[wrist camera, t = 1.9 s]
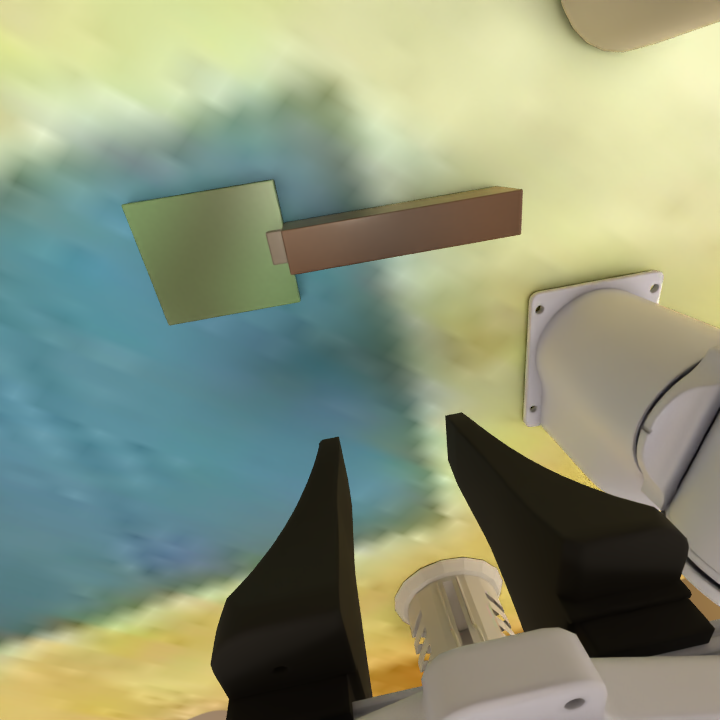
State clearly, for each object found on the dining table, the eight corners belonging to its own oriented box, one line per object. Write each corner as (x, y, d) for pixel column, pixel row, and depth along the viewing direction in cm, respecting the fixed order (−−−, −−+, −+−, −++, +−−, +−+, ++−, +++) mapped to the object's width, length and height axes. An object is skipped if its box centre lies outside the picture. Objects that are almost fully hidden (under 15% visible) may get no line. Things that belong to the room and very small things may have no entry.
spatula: (497, 141, 19) (525, 138, 17) (495, 263, 22) (520, 276, 20) (126, 203, 19) (98, 209, 16) (172, 322, 21) (154, 342, 19)
